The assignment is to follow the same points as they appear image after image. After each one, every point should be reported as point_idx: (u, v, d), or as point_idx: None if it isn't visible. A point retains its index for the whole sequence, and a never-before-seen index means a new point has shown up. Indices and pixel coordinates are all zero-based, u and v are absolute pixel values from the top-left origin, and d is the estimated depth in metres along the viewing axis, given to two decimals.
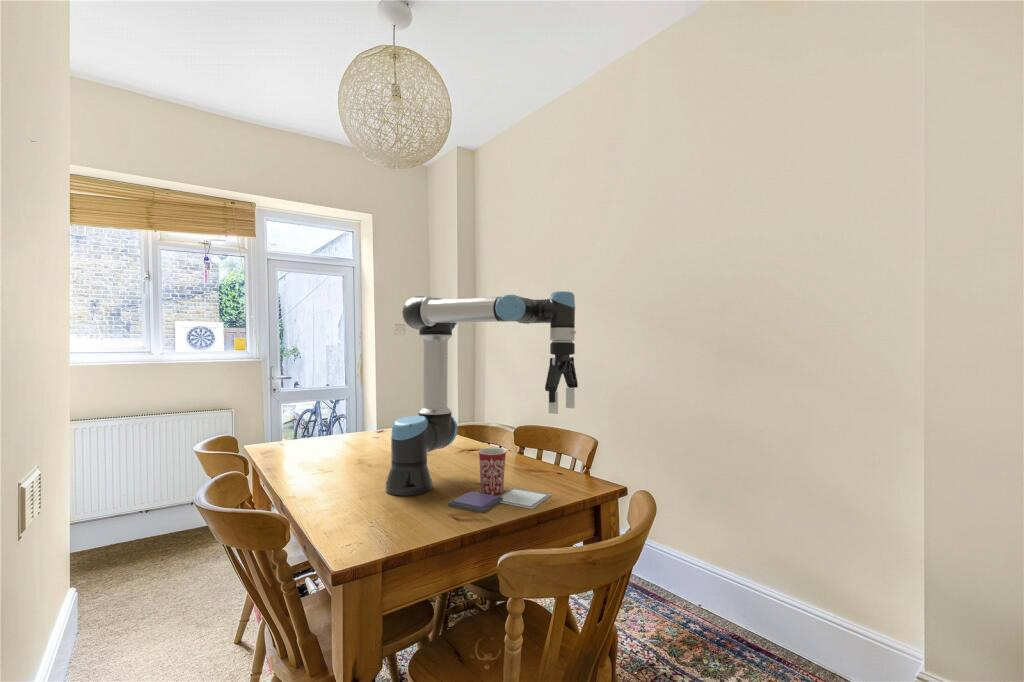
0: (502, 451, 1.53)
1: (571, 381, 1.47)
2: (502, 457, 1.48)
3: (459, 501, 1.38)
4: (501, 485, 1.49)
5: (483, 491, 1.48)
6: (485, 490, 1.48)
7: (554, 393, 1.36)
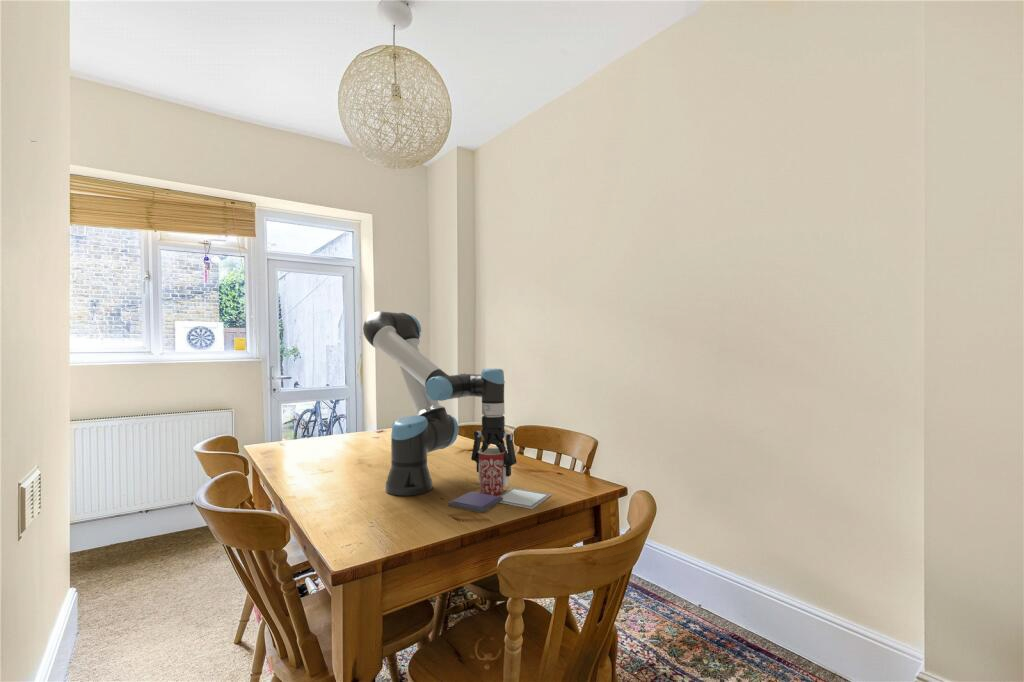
0: None
1: None
2: (502, 457, 1.48)
3: (459, 501, 1.38)
4: (501, 485, 1.49)
5: (483, 491, 1.48)
6: (485, 490, 1.48)
7: (478, 464, 1.54)
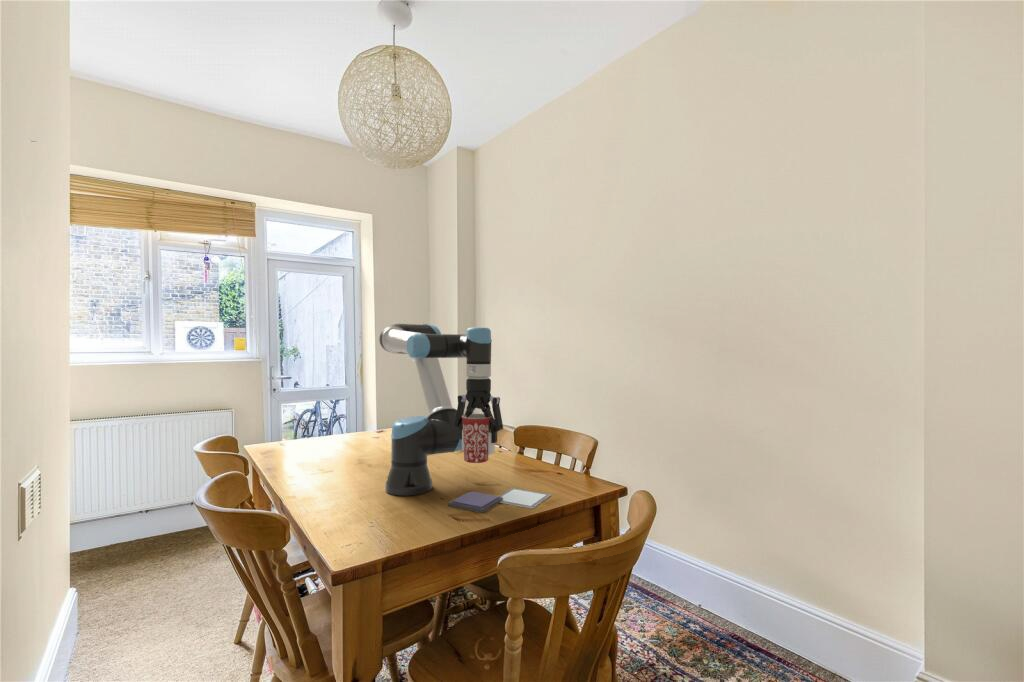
0: None
1: None
2: (487, 422, 1.37)
3: (459, 501, 1.38)
4: (486, 452, 1.38)
5: (466, 458, 1.37)
6: (469, 457, 1.37)
7: (461, 431, 1.43)
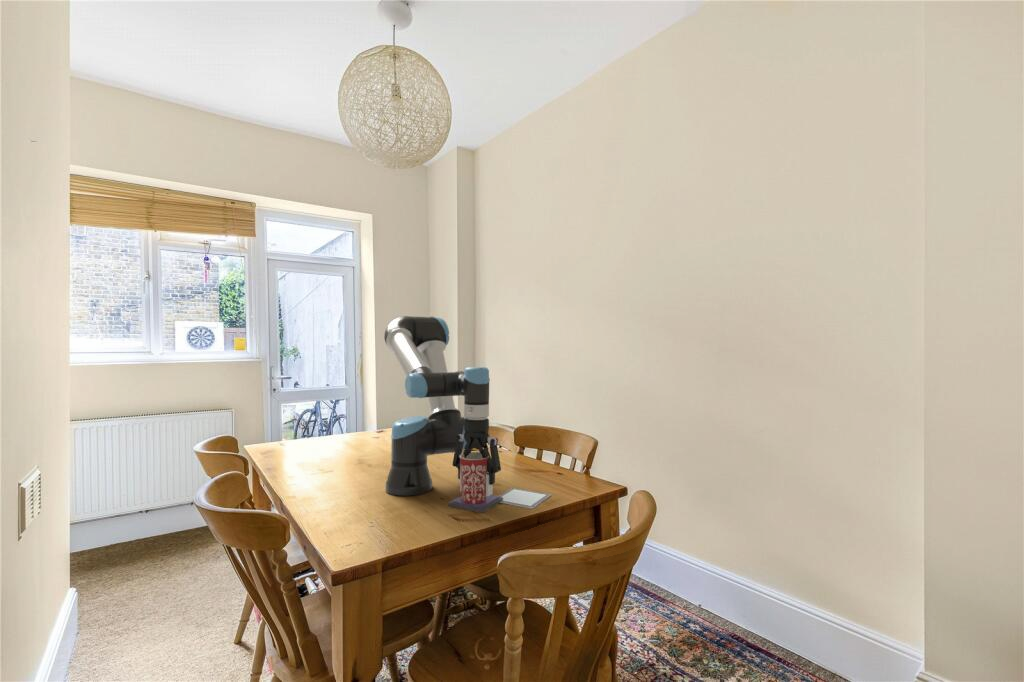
0: None
1: None
2: (484, 462, 1.36)
3: (459, 501, 1.38)
4: (483, 493, 1.37)
5: (464, 499, 1.36)
6: (466, 498, 1.36)
7: (459, 470, 1.42)
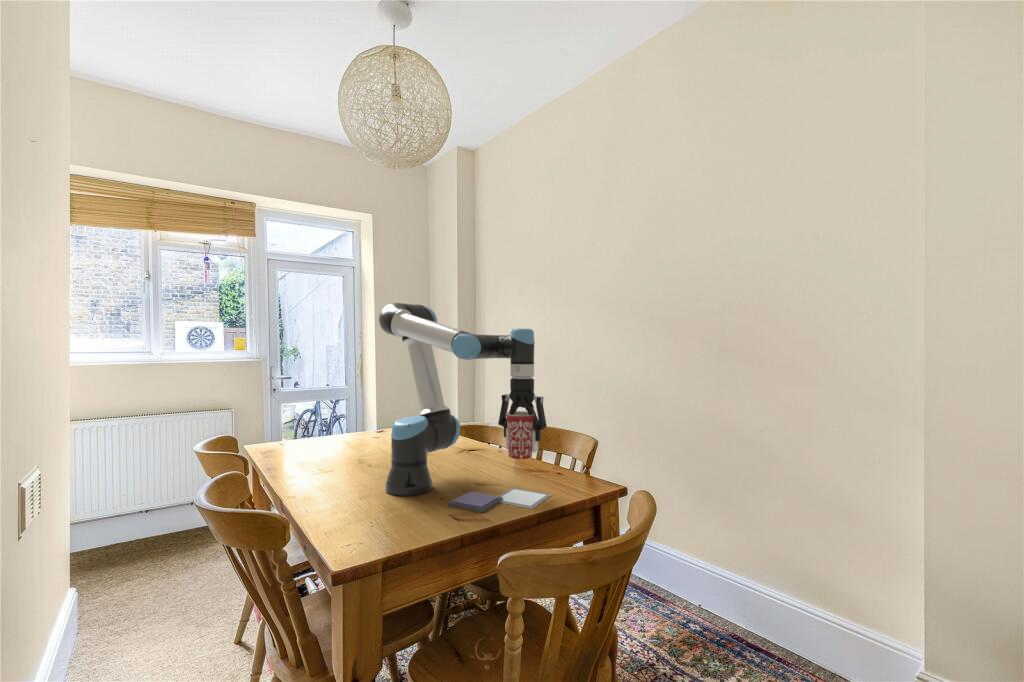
0: None
1: None
2: (531, 419, 1.41)
3: (459, 501, 1.38)
4: (530, 448, 1.42)
5: (511, 455, 1.41)
6: (513, 453, 1.41)
7: (505, 429, 1.47)
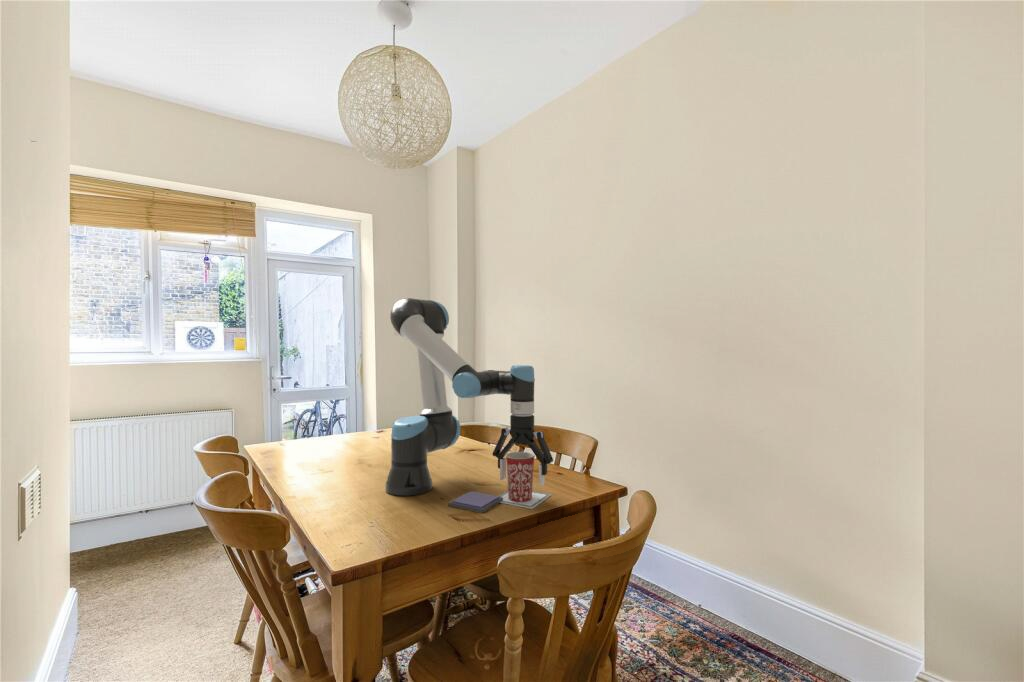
0: (530, 455, 1.46)
1: None
2: (530, 461, 1.41)
3: (459, 501, 1.38)
4: (530, 491, 1.42)
5: (511, 497, 1.41)
6: (513, 496, 1.41)
7: (499, 460, 1.48)
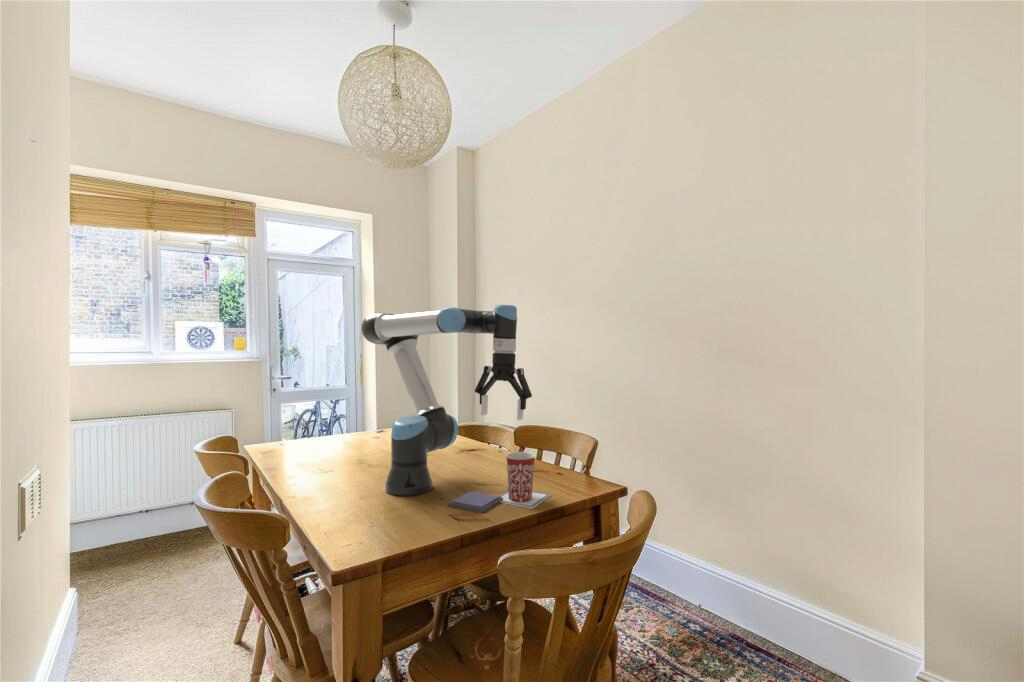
0: (530, 455, 1.46)
1: None
2: (531, 462, 1.41)
3: (459, 501, 1.38)
4: (530, 491, 1.42)
5: (511, 497, 1.41)
6: (513, 496, 1.41)
7: (481, 396, 1.54)
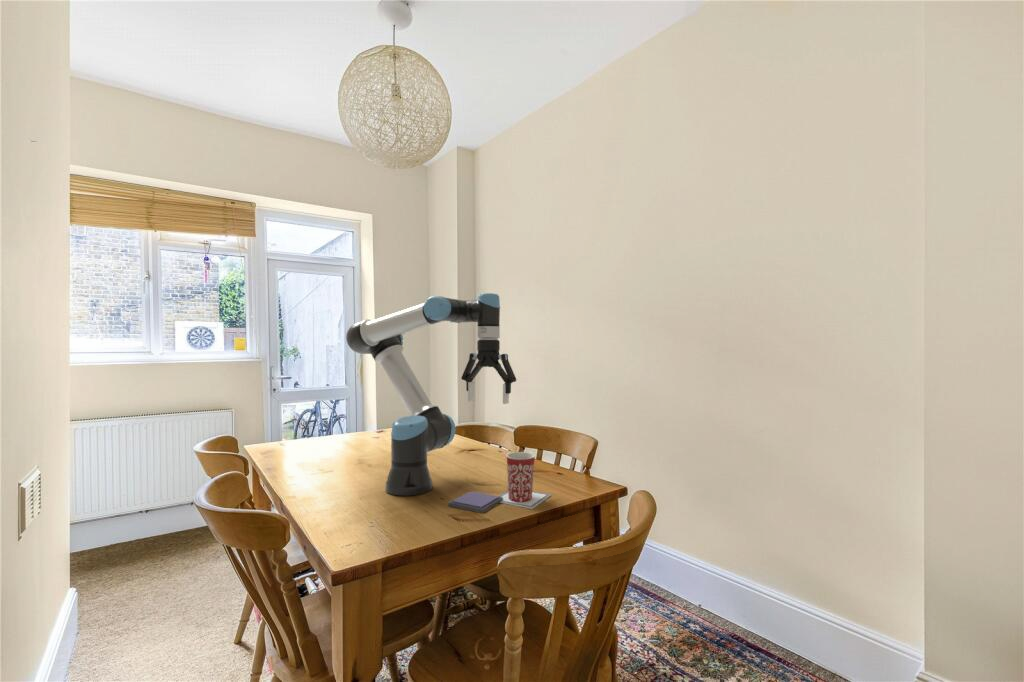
0: (530, 455, 1.46)
1: None
2: (531, 462, 1.41)
3: (459, 501, 1.38)
4: (530, 491, 1.42)
5: (511, 497, 1.41)
6: (513, 496, 1.41)
7: (467, 383, 1.59)
